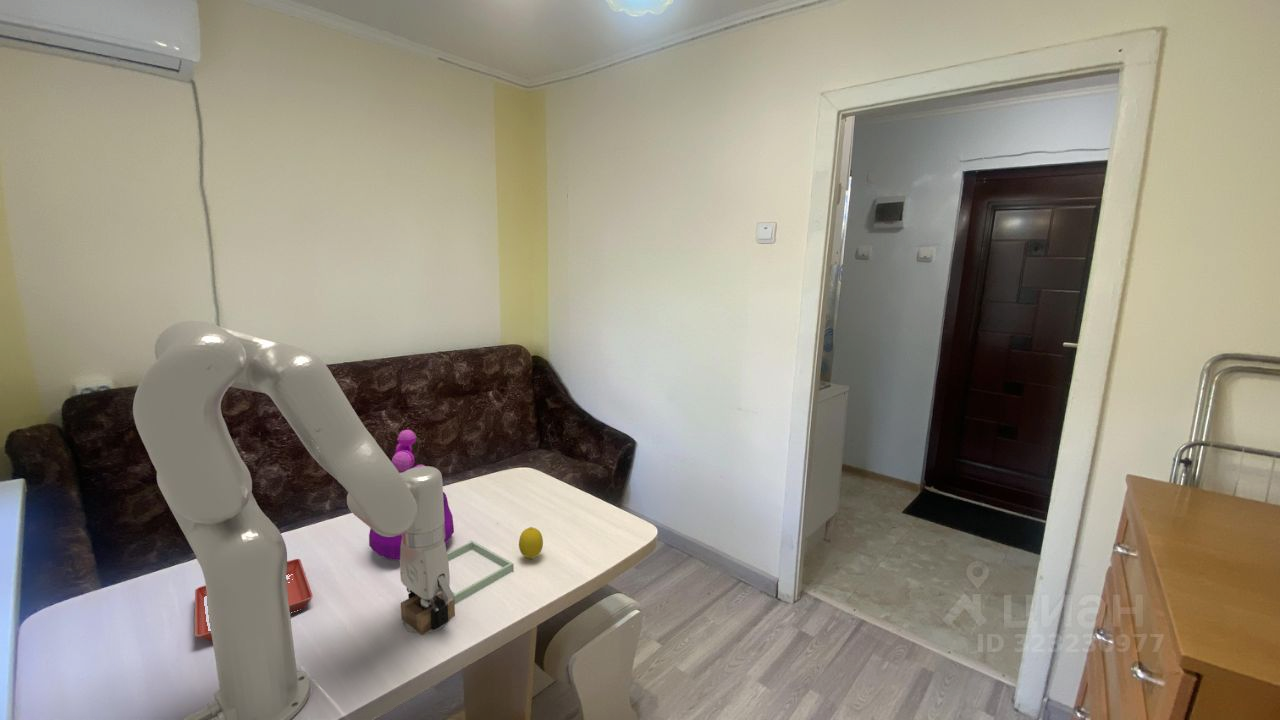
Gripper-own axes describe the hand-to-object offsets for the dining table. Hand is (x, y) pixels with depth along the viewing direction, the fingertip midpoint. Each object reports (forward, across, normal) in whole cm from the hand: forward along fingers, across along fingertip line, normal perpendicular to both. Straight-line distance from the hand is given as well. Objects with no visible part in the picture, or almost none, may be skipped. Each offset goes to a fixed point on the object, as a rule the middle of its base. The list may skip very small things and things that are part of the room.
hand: (428, 616), depth 102 cm
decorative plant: (+1, -26, +12) cm, 29 cm away
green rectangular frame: (+1, -7, +13) cm, 15 cm away
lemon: (+1, -1, +27) cm, 27 cm away
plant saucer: (+2, -31, -19) cm, 36 cm away
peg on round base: (+1, 0, 0) cm, 1 cm away
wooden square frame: (0, 0, 0) cm, 0 cm away
